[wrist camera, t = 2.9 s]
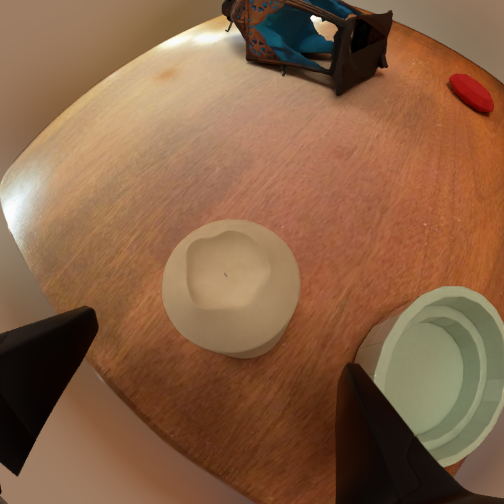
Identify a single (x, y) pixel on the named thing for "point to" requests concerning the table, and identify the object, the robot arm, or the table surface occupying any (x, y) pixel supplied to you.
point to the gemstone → (472, 92)
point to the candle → (231, 288)
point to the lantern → (312, 36)
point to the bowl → (441, 368)
